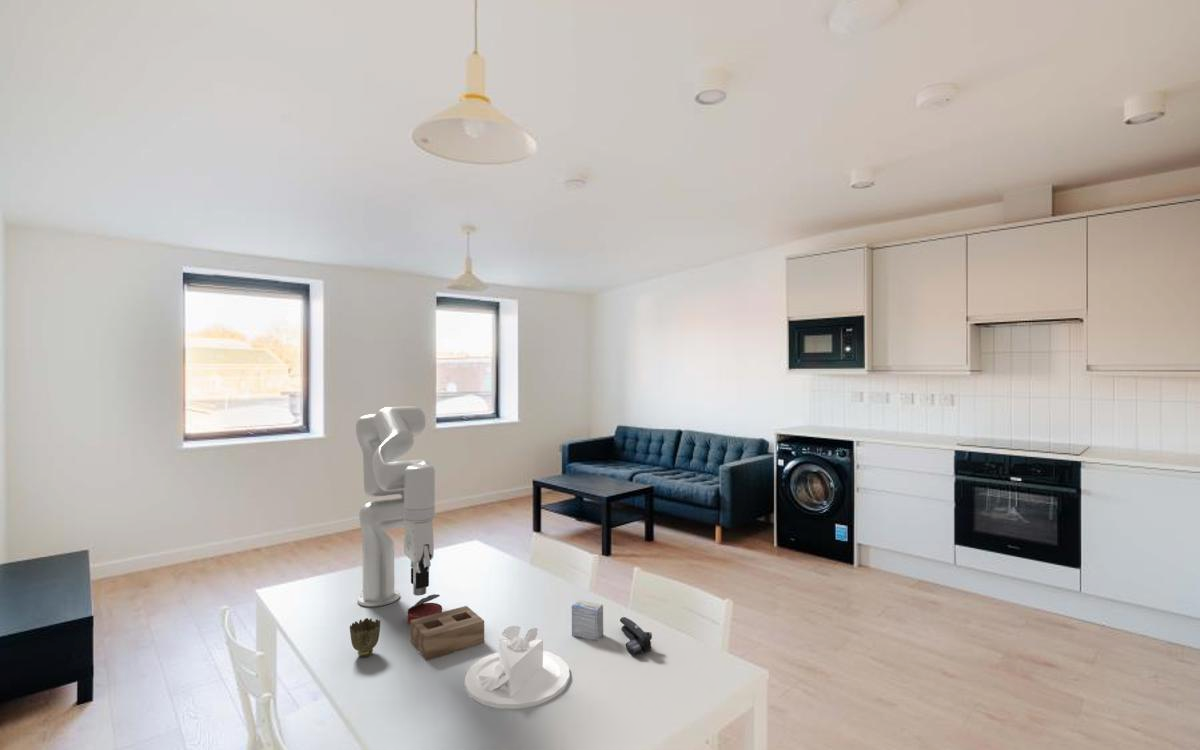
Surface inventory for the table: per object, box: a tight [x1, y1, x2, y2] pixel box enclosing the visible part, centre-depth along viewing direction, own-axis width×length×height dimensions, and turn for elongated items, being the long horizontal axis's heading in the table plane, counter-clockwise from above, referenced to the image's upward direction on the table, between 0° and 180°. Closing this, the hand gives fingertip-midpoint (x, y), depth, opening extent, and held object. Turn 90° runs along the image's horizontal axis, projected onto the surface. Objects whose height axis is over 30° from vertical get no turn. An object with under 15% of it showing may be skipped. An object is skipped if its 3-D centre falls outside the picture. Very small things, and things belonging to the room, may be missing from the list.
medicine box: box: [571, 599, 604, 642], centre depth 159 cm, size 8×4×9 cm, turn 65°
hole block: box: [410, 605, 485, 661], centre depth 155 cm, size 12×16×6 cm
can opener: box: [619, 616, 653, 657], centre depth 155 cm, size 18×7×6 cm, turn 16°
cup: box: [349, 617, 381, 658], centre depth 148 cm, size 8×7×8 cm
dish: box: [463, 625, 571, 710], centre depth 137 cm, size 25×25×11 cm
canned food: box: [406, 593, 443, 626], centre depth 169 cm, size 11×10×10 cm
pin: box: [412, 558, 427, 597], centre depth 146 cm, size 3×3×9 cm
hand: (419, 584), depth 146 cm, fingers closed on pin, 3 cm apart
